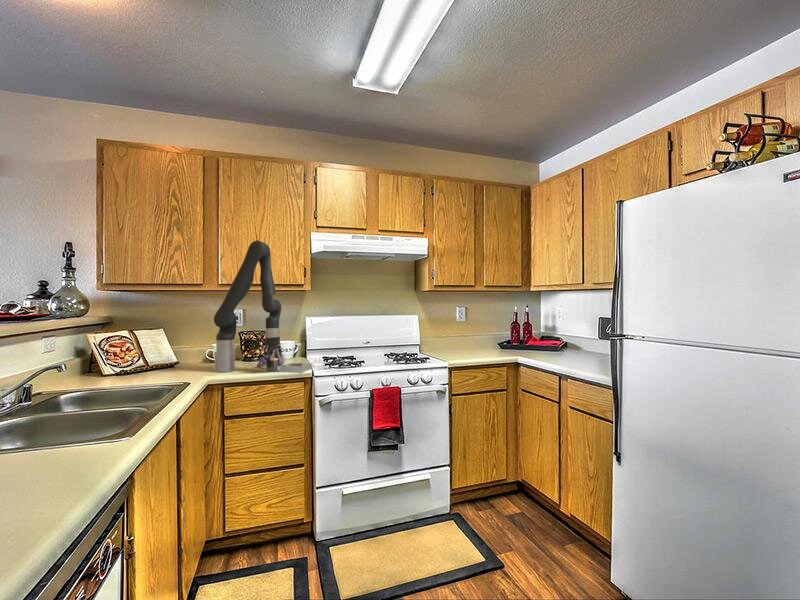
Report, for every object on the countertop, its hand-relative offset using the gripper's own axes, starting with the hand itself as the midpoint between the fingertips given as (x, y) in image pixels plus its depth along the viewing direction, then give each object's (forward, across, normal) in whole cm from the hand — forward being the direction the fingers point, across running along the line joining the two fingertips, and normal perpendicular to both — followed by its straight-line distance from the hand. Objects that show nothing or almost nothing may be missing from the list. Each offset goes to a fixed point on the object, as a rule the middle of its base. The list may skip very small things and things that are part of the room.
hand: (273, 366), depth 209 cm
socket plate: (+3, -6, +10) cm, 12 cm away
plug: (+3, 0, 0) cm, 3 cm away
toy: (+3, -15, -8) cm, 18 cm away
